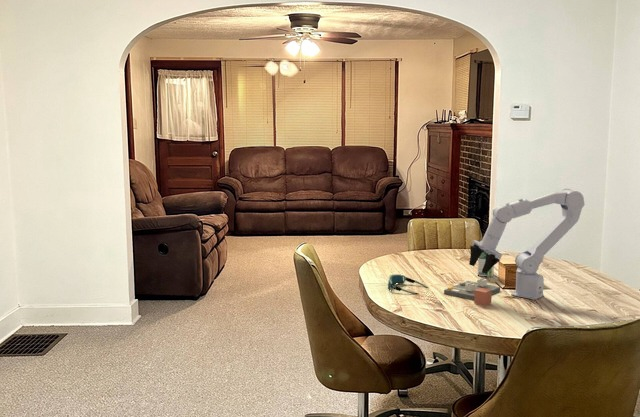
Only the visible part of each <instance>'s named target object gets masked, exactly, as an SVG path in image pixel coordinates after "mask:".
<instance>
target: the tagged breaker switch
mask: <svg viewBox="0 0 640 417" xmlns="http://www.w3.org/2000/svg"><path fill="white" fill-rule="evenodd" d="M473 282H474V281H471V283H468V284H466V285H465V290H466V291H474V290H475V284H473Z"/></svg>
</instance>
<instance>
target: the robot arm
mask: <svg viewBox="0 0 640 417" xmlns="http://www.w3.org/2000/svg"><path fill="white" fill-rule="evenodd" d="M584 199H585V198H584V195H583V194H582V193H581V192H580V191H577V190H573V189H570V188H563V189H559V190H555V191H553V192H550V193H547V194H545V195H542V196H539V197H536V198H534V199H531V200H528V199H526V198H522V197H520V198H518V199H517V201H513V202H505V205H502V204H501V205H498V206H495V208H494V209H492V218H491V221H490V222H489V224H488V227H487V229H486V231H485V233H484V235H483V237H482V239H481V241H482V242H480V241H479V240H476V239H473V240H472V243H471V245H470V246H469V247H470V248H469V249H470V257H469V263H468V265H470V266H473V267H474V266H476V264H477V263H478V258H479V257H480V255H481V254H482V253H483V252H484V251H485V252H487V253H489V254H491V255H489V254H486V260H485V264H484V267H483V269H482V273H485V274H487V273H488V272H489V270H490V269H491V268H492V267H493V266H494V267H495V265H496V264H498V263H499V262H501V258H502V256H503V254H502V253H500V252H499V251H497V250H496V249H497V246H498V245H499V242H500V240H501V237H502V235H503V234H504V232H505V229H506V227H507V225H508V223H510V222H511V221H512V220H513V219H516V218H520V217H523V216H526V215H530V214H531V212H532V211H533V209H538V208H540V207H541V208H542V207H545V206H549V205H553V204H557V205H559V206H560V207H561V213H562V215H561V217H560V218H559V219H558V220H557V221H555V223H554V224H553V225H552V226H551V227H550V228H549V229H548V230H547V231H546V232H545V233H544V234H543V235H542V236H541V237H540V238H539V239H538V240H537V241H536V242H535V243H534V244H533V245H532V246H530V247H527V248H526V249H525V250H524V251H522V252H520V253H518V254H517V255H516V256H515V260H514V262H515V265H516V266H517V269H516V273H515V276H516V277H515V292H512V293H511V296H514V297H519V298H525V299H529V300H534V301H535V300H538V299H540V298H542V297H543V296H545V295H544V281H545V279H544V275H542V274H539V273H537V272H538V270H539V267H540V265H541V264H542V263H543V261H544V257H545V255H546V254H547V253H548V252H549V251H550V250H551V249H552V248H553V247H554V246H556V244H557V243H558V242H559V241H560V240H561V239H562V238H563V237H564V236H565V235H566V234H567V233H568V232H569V231H570V230H571V229H572V228H573V227H574V226H575V224H577V223H578V221H579V220H580V216H581V212H582V209H583V208H584V206H586V205H585V200H584ZM483 248H484V249H483ZM485 249H486V250H485ZM487 250H488V251H487ZM490 252H491V253H490Z"/></svg>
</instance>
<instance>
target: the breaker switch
mask: <svg viewBox="0 0 640 417" xmlns="http://www.w3.org/2000/svg"><path fill="white" fill-rule="evenodd" d="M476 280H477V281H476V282H477V286H481V287H484V286H486V285H488V284H487V283H488V282H487V280H488V279H486V277H481V278H479V279H476Z"/></svg>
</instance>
